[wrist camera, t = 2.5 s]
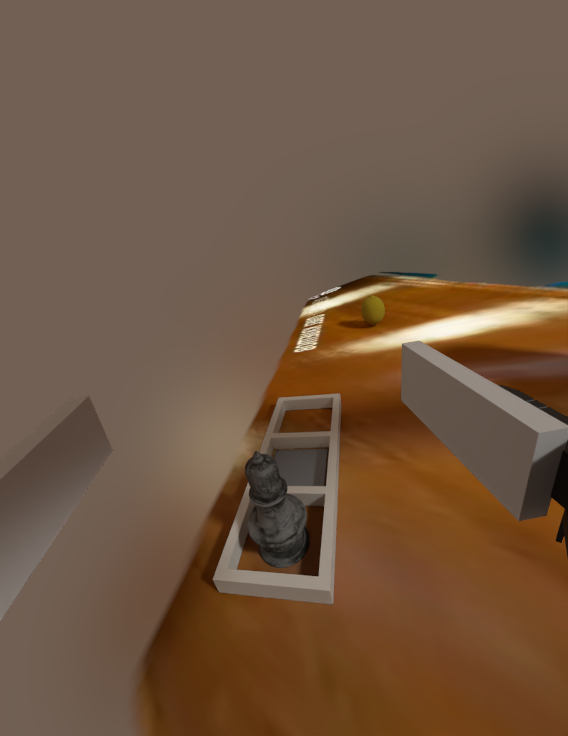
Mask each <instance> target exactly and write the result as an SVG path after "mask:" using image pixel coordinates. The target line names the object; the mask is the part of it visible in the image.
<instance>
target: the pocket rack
mask: <svg viewBox="0 0 568 736" xmlns="http://www.w3.org/2000/svg"><path fill="white" fill-rule="evenodd" d="M320 408H333V409H332V421H331V431H321V432H296V433H279V430H280V427H281V424H282V421H283V417H284V414H285V411H286V410H303V409H320ZM340 426H341V397H340V394H326V395H312V396H298V397H284V398H279V399H278V401H277V404H276V407H275V410H274V412H273V415H272V418H271V421H270V423H269V426H268V429H267V432H266V434H265V437H264V440H263V443H262V445H261V448H260V451H259V453H261V454H267V455H270V456H272V453H273V450H274V449H289V448H328V447H329V457H328V469H327V481H326V486H324V485H325V474H326V463H327V452H328V450H327V449H302V450H276V453H275V457H274V459H275V461H276V463H277V466H278V470H279V473H280V477H282V478H283V479H284V480H285V481H286V483H287V487H288V488H287V494H291V495H293V496H296V497H297V498H298V499H300V500H301V501H302V503H303V504H304V506H324V517H323V529H322V541H321V553H320V565H319V577H318V576H306V575H294V574H282V573H270V572H258V571H247V570H237V566H238V563H239V560H240V557H241V553H242V550H243V547H244V544H245V540H246V537H247V534H248V526H247V522H248V518H249V515H250V513H251V511H252V509H253V508H254V507H255V505H254V504H253V503H252V502H251V501H250V498H249V490H250V485H249V483H248V484H247V486H246V489H245V492H244V495H243V497H242V500H241V503H240V506H239V508H238V511H237V514H236V517H235V519H234V522H233V525H232V528H231V530H230V533H229V536H228V539H227V541H226V544H225V547H224V550H223V552H222V555H221V558H220V561H219V563H218V566H217V569H216V572H215V574H214V577H213V581H214V583H215V585H216V587H217V589H218V591H219V592H221V593H230V594H240V595H249V596H259V597H268V598H277V599H287V600H296V601H305V602H315V603H324V604H333V595H334V571H335V547H336V522H337V498H338V474H339V450H340Z"/></svg>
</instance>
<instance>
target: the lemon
mask: <svg viewBox="0 0 568 736" xmlns="http://www.w3.org/2000/svg"><path fill="white" fill-rule="evenodd" d="M384 312H385V309H384V304H383V302H382V300H381V299H380V298H378V297H376V296H373V295H371V296H370V297H368V298H367V299H366V300H365V301H364V302H363V304H362V316H363V319H364V320H365V321H366V322H367V323H369V324H371V325H373V326H375V325H376V324H377V323H379V322H380V321H381V320H382V319H383V317H384Z"/></svg>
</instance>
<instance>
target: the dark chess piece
mask: <svg viewBox="0 0 568 736" xmlns="http://www.w3.org/2000/svg"><path fill="white" fill-rule="evenodd" d="M245 474H246V477H247V480H248V483H249V485H250V490H249V498H250V501H251V502H252V503H253V504H254V505H255V507H254V508H253V509H252V511H251V513H250V515H249V518H248V522H247V526H248V532H249V535H250V537H251V538H252V539H253V541H254V542H255V543H257V544H258V545H259V552H260V554H261V557H262V558H263V560H264V561H265V562H266V563H267V564H269V565H270V566H273V567H276V568H285V567H289V566H292V565H294V564H296V563H297V562H299V561H300V560H301V559H302V558H303V557H304V555H305V554H306V552H307V550H308V547H309V542H310V537H309V532H308V530H307V528H306V526H305V524H306V521H307V513H306V508H305V506H304V504H303V503H302V501H301V500H300V499H298V498H297V497H296V496H293V495H291V494H287V488H288V487H287V483H286V481H285V480H284V479H283V478H282V477H280V473H279V470H278V466H277V463H276V461H275V459H274V458H273V457H272V456H270V455H267V454H261V453H259V452H257V451H255V453H254V455H253V457H252V458H250V459H249V460H248V462H247V464H246V466H245Z"/></svg>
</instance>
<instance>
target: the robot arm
mask: <svg viewBox="0 0 568 736" xmlns="http://www.w3.org/2000/svg"><path fill="white" fill-rule="evenodd" d="M401 401H402V402H403V403H404V404H405V405H406V406H407V407H408V408H409V409H410V410H411V411H412V412H413V413H414V414H415V415H416V416H417V417H418V418H419V419H420V420H421V421H422V422H423V423H424V424H425V425H426V426H427V427H428V428H429V429H430V430H431V431H432V432H433V433H434V434H435V436H436V437H437V438H438V439H439V440H440V441H441V442H442V443H443V444H444V445H445V446H446V447H447V448H448V449H449V450H450V451H451V452H452V453H453V454H454V455H455V456H456V457H457V458H458V459H459V460H460V461H461V462H462V463H463V464H464V465H465V466H466V467H467V468H468V469H469V471H470V472H471V473H472V474H473V475H474V476H475V477H476V478H477V479H478V480H479V481H480V482H481V483H482V484H483V485H484V486H485V487H486V488H487V489H488V490H489V491H490V492H491V493H492V494H493V495H494V496H495V497H496V498H497V499H498V500H499V501H500V502H501V503H502V504H503V506H504V507H505V508H506V509H507V510H508V511H509V512H510V513H511V514H512V515H513V516H514V517H515V518H516V519H517V520H518V521H522V520H527V519H532V518H537V517H542V516H547V512H548V508H549V505H550V501H551V498H553V499H554V500H555V501H557V502H558V503H559V504H560V505H561V506H563V507H564V508H565V510H564V514H563V517H562V520H561V523H560V527H559V530H558V533H557V537H556V541H557V542H560V543H562V539H563V537H564V536H565V543H566V549H567V556H568V417H566V416H565V415H563V414H561V413H559V412H557V411H555V410H553V409H552V408H550V407H548V408H547V407H546V405H544V404H542V403H541V402H539V401H537V400H536V401H534V399H533V398H531V397H530V396H528V395H526V394H524V393H522V392H520V391H518V390H515V389H512V388H509V387H506V386H502V385H496V384H494V383H493V382H491V381H489V380H487V379H486V378H484V377H482V376H480V375H479V374H477V373H475V372H473V371H472V370H470V369H468V368H466V367H465V366H463V365H461V364H459V363H458V362H456V361H454V360H452V359H451V358H449V357H447V356H445V355H444V354H442V353H440V352H438V351H437V350H435V349H433V348H431V347H430V346H428V345H426V344H424V343H422V342H421V341H415V342H409V343H403V344H402V380H401ZM112 451H113V450H112V447H111V445H110V443H109V440H108V438H107V436H106V434H105V431H104V429H103V427H102V424H101V422H100V420H99V417H98V415H97V413H96V411H95V408H94V406H93V404H92V401H91V399H90V397H89V396H83V397H77V398H71V399H69V400H68V401H67V402H65V403H64V404H63V405H62V406H61V407H60V408H58V409H57V410H56V411H55V412H54V413H53V414H52V415H50V416H49V417H48V418H47V419H46V420H45V421H43V422H42V423H41V424H40V425H39V426H38V427H37V428H35V429H34V430H33V431H32V432H31V433H30V434H29V435H27V436H26V437H25V438H24V439H23V440H21V441H20V442H19V443H18V444H17V445H16V446H15V447H13V448H12V449H11V450H10V451H9V452H8V453H6V454H5V455H4V456H3V457H2V458H1V459H0V621H1V619H2V618H3V616H4V615H5V613H6V612H7V610H8V609H9V607H10V606H11V604H12V603H13V601H14V600H15V598H16V597H17V595H18V594H19V592H20V591H21V589H22V588H23V586H24V584H25V583H26V581H27V580H28V578H29V577H30V575H31V574H32V572H33V571H34V569H35V568H36V566H37V565H38V563H39V562H40V560H41V559H42V557H43V556H44V554H45V553H46V551H47V550H48V548H49V547H50V545H51V544H52V542H53V540H54V539H55V537H56V536H57V534H58V533H59V531H60V530H61V528H62V527H63V525H64V524H65V522H66V521H67V519H68V518H69V516H70V515H71V513H72V512H73V510H74V509H75V507H76V506H77V504H78V503H79V501H80V500H81V498H82V496H83V495H84V494H85V492H86V490H87V489H88V487H89V486H90V484H91V483H92V481H93V480H94V478H95V477H96V475H97V474H98V472H99V471H100V469H101V468H102V466H103V465H104V463H105V462H106V460H107V458H108V457H109V456H110V454H111V453H112Z"/></svg>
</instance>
